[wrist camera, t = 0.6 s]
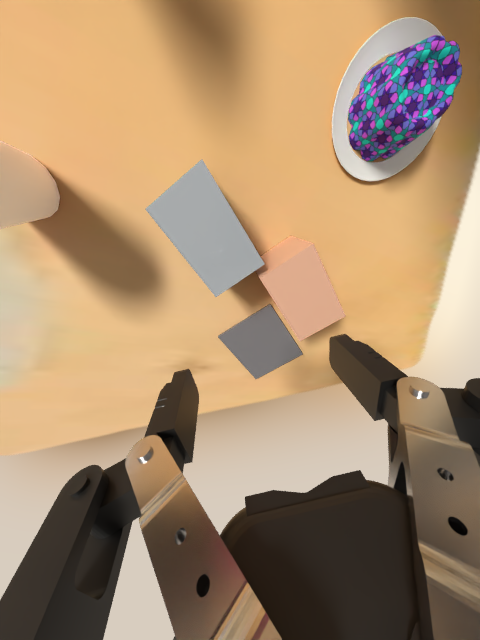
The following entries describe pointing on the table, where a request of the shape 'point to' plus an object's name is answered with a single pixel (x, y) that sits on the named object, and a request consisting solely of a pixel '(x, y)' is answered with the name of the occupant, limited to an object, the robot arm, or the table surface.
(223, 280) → the plate
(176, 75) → the table surface
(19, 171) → the foam cup
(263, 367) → the mat
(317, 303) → the cover terracotta
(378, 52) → the pudding
